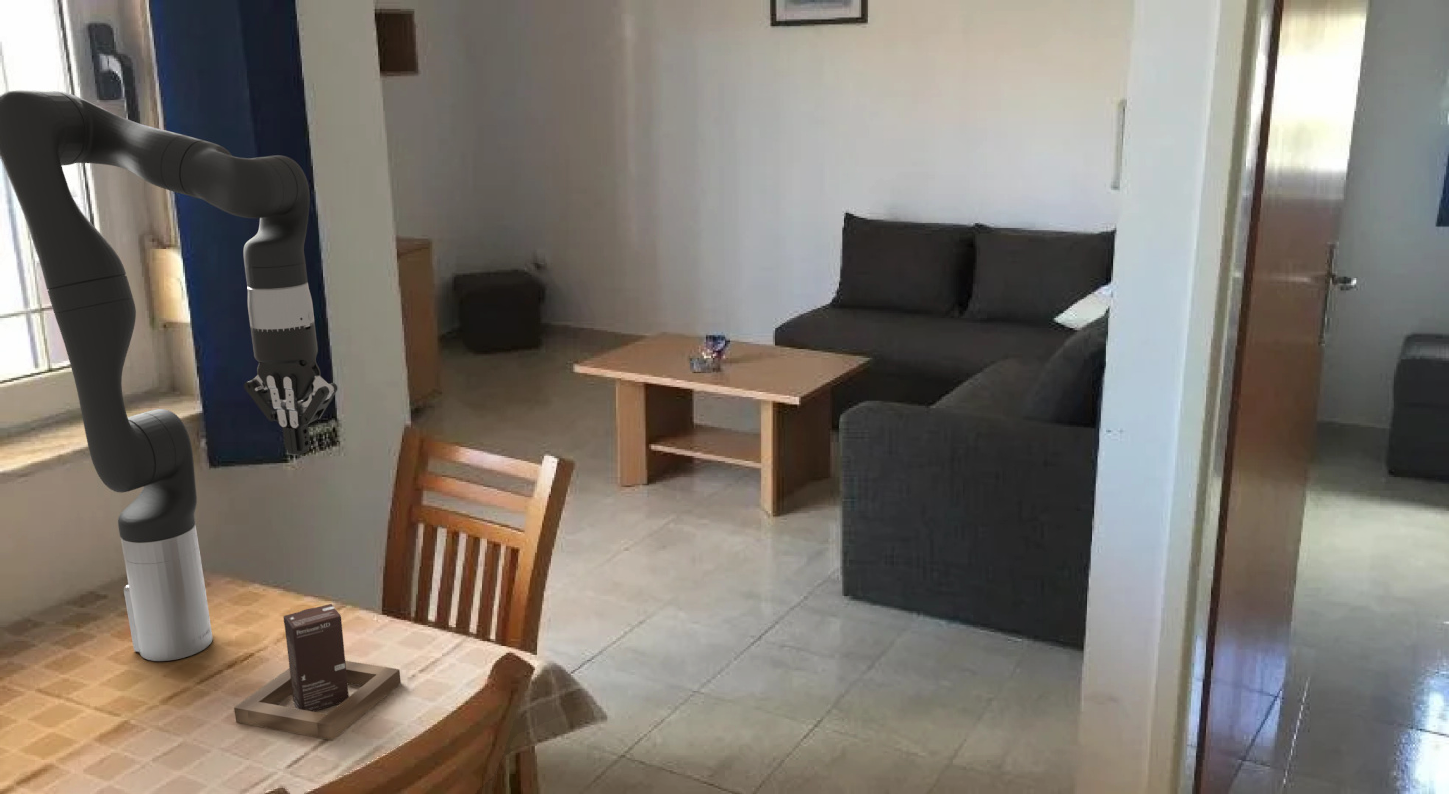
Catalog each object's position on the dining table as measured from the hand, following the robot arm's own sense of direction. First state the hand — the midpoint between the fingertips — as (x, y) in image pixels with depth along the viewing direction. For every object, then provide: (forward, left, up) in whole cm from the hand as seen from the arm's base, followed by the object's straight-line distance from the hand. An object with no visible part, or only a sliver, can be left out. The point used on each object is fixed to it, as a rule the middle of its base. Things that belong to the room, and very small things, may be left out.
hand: (298, 453), depth 151 cm
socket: (+7, -10, -29) cm, 31 cm away
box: (+7, -10, -29) cm, 32 cm away
